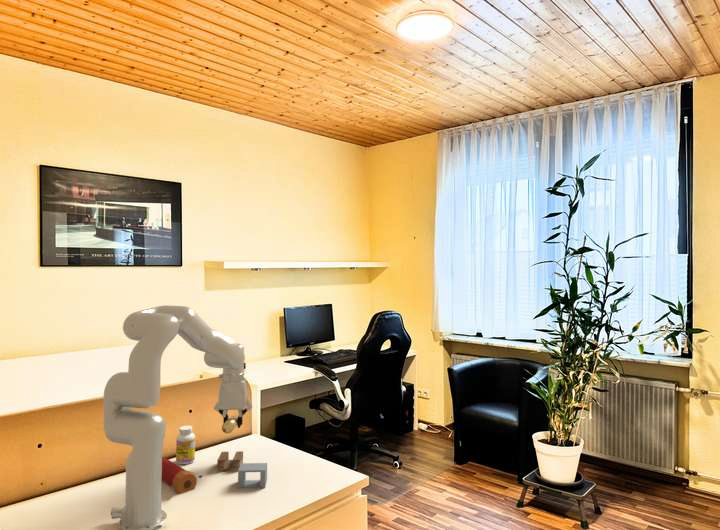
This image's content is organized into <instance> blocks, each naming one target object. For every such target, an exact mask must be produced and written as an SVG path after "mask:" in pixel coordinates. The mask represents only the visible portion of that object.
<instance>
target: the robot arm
mask: <svg viewBox="0 0 720 530" xmlns="http://www.w3.org/2000/svg"><path fill="white" fill-rule="evenodd" d="M122 325H123V326H122V331H123V333H124V335H125V337H126V338H127V339H129V340H132V341H136V342H137V341H138V342H137V343H136V344H135V346H134V347H133V348H132V350H131V352H130V354H129V356H128V368H127V370H128V372H127V371H123V372H120V371H119V372H117V373H114V374H113V375H112V376H111V377H110V378H109V379H108V380H107V382H106V384H105V386H104V390H103V432H104V435H105V438H106V439H107V440H108V441H110V442H112V443H116V444H120V445H121V444H122V445H127V446H132V450H131V452H130V453H129V455H128V457H127V458H126V462H125V505H124V506H123V507H112V508H111V510H110V515H111V519H120V520H119V524H118V527H119V530H158V529H159V528H161V527H162V524H163V523H164V522H165V521H167V517H168V513H167V512H166V511H164V509H162V492H163V490H162V482H163V481H162V458H163V447H164V446H163V445H164V441H165V437H166V432H167V423H166V420H165V418H164V417H163V416H161V415H159V414H158V413H155V412H153V411H146V410H145V411H144V410H135V409H152V408H154V407H155V406H156V405H157V404H158V403H159V401H160V398H161V397H160V396H161V365H162V357H163V354H164V352H165V350H166V348H167V347H168V345H169V344H170V343H171V342H172V341H173V340H174V339H175V338H176V336H177V335H178V336H180V337H181V338H182V339H183V340H184V341H185V342H186V343H187V344H188V345H189V346H190V347H192V348H193V349H195V350H197V351H200V352H203V353H204V355H203V361H204V363H205V365H206V366H208V367H210V368H214V369H222V373H221V374H218V378H219V379H222V380H221V381H220V384H219V390H218V397H217V398H218V400H217V402H216V404H215V406H214V407H213V410H215V411H216V412H218V413H219V414H220V415H221V416H222V418H223V419H222V420H223V424H224V423H225V422H226V421H227V420H228V419H229V415H228V411H229V410H230V411H232V410H235V411H236V410H237V411H238V415H237V416H238V425H237V428H238V429H240V428H241V426H242V425H243V418H244V417H243V416H244V415H245V414H246V413H247V412H249V411H250V410H252V408H253V405H252V403H251V402H250V401H249V400H248V389H247V383H246V379H244V378H245V376H244V375H245V360H246V359H245V358H246V357H245V356H246V355H245V347H244V345H243V344H241V343H237V342H236V341H235V340H234V339H232V338H231V337H229V336H227V335H225V334H223V333H222V332H219V331H217V330H215V329H213V328H212V327H210V325H208V324H207V323H206V321H204V319H202V317H200V315H198V313H197V312H196V311H195V310H194V309H193V308H191V307H188V306H185V305H170V304H169V305H166V304H165V305H158V306H155V307H151V308H146V309H141V310H138V311H134V312H132V313H130V314H129V315H128V316H126V318H125V319H124V321H123V324H122ZM132 408H135V409H134V410H133V409H132ZM223 424H222V425H223Z"/></svg>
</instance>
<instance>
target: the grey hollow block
mask: <svg viewBox="0 0 720 530" xmlns="http://www.w3.org/2000/svg"><path fill="white" fill-rule="evenodd" d="M247 473H259V474H260V475H259V476H260V477H259V479H253V480H252V479H251V480H249V479H248V480H246V479H247V475H246V474H247ZM267 482H268V462H253V463H251V462H248V463H246V462H245V463H244V462H243V463H241V465H240V467H239V470H238V471H237V489H265V488H266V486H267Z"/></svg>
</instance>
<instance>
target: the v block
mask: <svg viewBox="0 0 720 530" xmlns="http://www.w3.org/2000/svg"><path fill="white" fill-rule="evenodd" d="M229 455H230V453H229V451H221V452H220V455H219V457H218V458H217V460H216V464H217V465H216V467H217V468H216V470H217V472H220V473H221V472H238V470H239V467H240V465H241V463H244V451H241V450H240V451H236V452H235V453H234V456H233V457H232V458H233V459H230V458H229ZM217 472H216V473H217Z"/></svg>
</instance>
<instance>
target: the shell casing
mask: <svg viewBox="0 0 720 530" xmlns="http://www.w3.org/2000/svg"><path fill="white" fill-rule="evenodd" d="M197 480H198V478H197V476H196V475H195V473H194V472H192V471H190V470H187V469H185V468H183V467H182V466H179V464H177V463H175V462H173V461H172V460H170V459H168V458H165V457H162V482H163V483H165V484H166V485H168V486H169V487H171V488H172V489H173V490H174V491H175V492H176V493H178V494H181V495H182V494H184V493H188V492H189V491H190V492H191V491H193V490H195V488H196V486H197V483H198V481H197Z"/></svg>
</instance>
